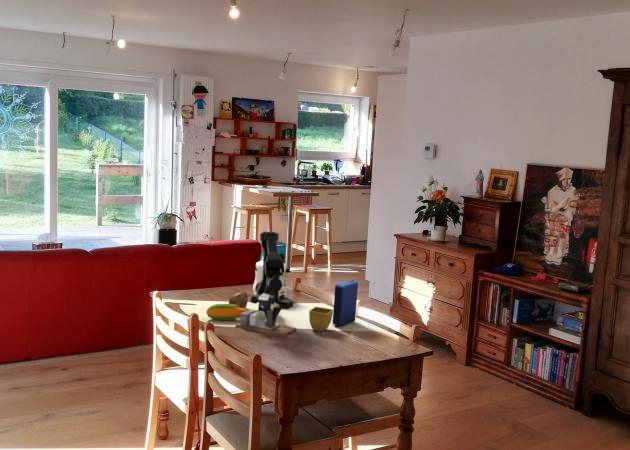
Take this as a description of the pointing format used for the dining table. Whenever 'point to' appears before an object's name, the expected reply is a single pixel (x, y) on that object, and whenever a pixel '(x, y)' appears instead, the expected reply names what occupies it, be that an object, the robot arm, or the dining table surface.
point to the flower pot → (320, 318)
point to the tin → (239, 300)
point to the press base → (277, 331)
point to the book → (345, 303)
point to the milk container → (259, 277)
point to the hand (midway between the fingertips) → (270, 320)
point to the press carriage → (263, 320)
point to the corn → (224, 311)
